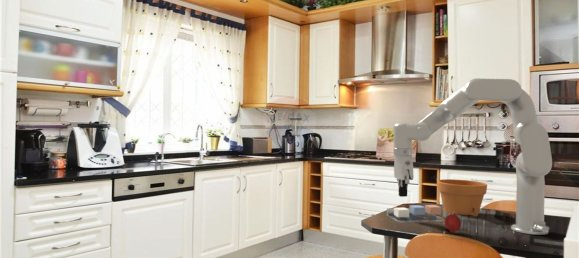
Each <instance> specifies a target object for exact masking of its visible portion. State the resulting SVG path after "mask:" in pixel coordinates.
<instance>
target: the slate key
mask: <svg viewBox="0 0 579 258" xmlns="http://www.w3.org/2000/svg"><path fill="white" fill-rule="evenodd" d="M409 208H410V213H412V214H414V215H425V206H423V205H421V204H419V205H418V204H417V205H416V204H415V205H413V204H412V205H411V204H410V205H409Z"/></svg>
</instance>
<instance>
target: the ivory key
mask: <svg viewBox="0 0 579 258" xmlns="http://www.w3.org/2000/svg"><path fill="white" fill-rule="evenodd" d="M393 208H394V215H395V216H397V217H409V209H407V207H393Z"/></svg>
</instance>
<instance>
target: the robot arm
mask: <svg viewBox="0 0 579 258" xmlns="http://www.w3.org/2000/svg"><path fill="white" fill-rule="evenodd" d="M479 101H485V102H486V101H487V102H488V101H489V102H499V103H503V104H505V105H506V106H507V108H508V109H509V112H510V115H511V122H512V128H513V138H514V140H515V142H516V143H517V144H518V145H520V149H521V152H520V153H519V154H518V155H517V157H516V160H515V171H516V192H515V193H516V200H515V201H516V202H515V206H516V207H515V224H512V225H511V230H513V231H514V232H517V233H521V234H527V235H538V236H539V235H540V236H541V235H548V234H549V230H550V227H549V226H547V225H546V221H545V197H546V195H545V192H546V189H545V188H546V183H545V182H546V181H545V176H546V175H547V174H549V173H550V171H551V170H552V167H553V158H552V151H551V144H550V139H549V138H550V137H549V134H548V131H547V129H546V127H545V126H543V125H542V123H541V124H540V123H539V122H538V117H537V113H536V108H535V103H534V101H533V99H532V97H531V95H529V94H528V92H526V91H525V90H524V89H523V88H522V86H521V83H519V82H518V80H517V81H516V80H515V79H511V78H479V77H478V78H472V79H469V80H468V81H467V82H466V83H465V84H463V85H462V86H461V87H460V88H459V89H457V90H456V91H455V92H454V93H452V94H451V95H449V96H448V97H447V98H445V100H443V101H442V102H441V103H440V104H439V105H437V107H436V108H435V109H434V110H433V111H432V112H430V113H429V114H427V115H426V116H425V117H424V118H423V119H421V120H420V121H419V122H417V123H404V122H403V123H402V122H401V123H400V122H399V123H395V124H394V125H393V157H394V160H393V161H394V163H393V164H394V165H393V172H394V173H393V176H394V178H395V179H396V181H397V185H398V196H399V197H400V198H402V197H408V186H409V184H410V181H413V180H414V179H415V178H414V162H413V141H418V142H424V141H427V140H428V139H430V138H431V136H432V135H433V134H435V133H436V132H438V130H440V129H441V128H442V127H443V126H445V125H447V124H448V123H450V122H452V121H454V120H455V119H457V118H458V117H460V116H461V115H462V114H464V113H465V112H466V111H468V110H469V109H470V108H471V107H472V106H474V105H475V104H476V103H478V102H479Z"/></svg>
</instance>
